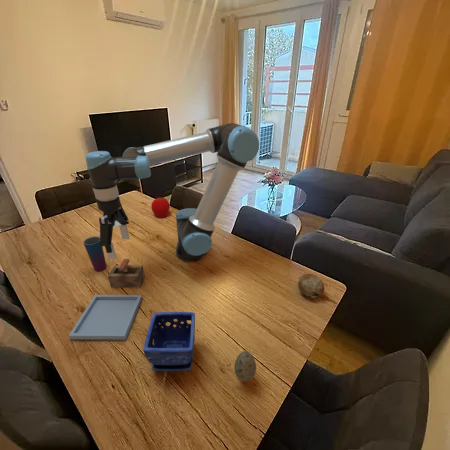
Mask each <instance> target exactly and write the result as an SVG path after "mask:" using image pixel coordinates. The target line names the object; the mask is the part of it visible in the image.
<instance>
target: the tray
mask: <svg viewBox="0 0 450 450" xmlns="http://www.w3.org/2000/svg"><path fill="white" fill-rule="evenodd" d="M142 302H143V295H141V294H94V295H93V297H92V298H91V300H90V302H89V303H88V305H87V306H86V308H85V309H84V311H83V313H82V314H81V315H80V317H79V318H78V320H77V321H76V324H75V325H74V327H73V328H72V329H71V331H70V333H69V334H68V337H69V340H70V341H126V340H127V338H128V336H129V333H130V331H131V329H132V326H133V323H134V321H135V319H136V317H137V314H138V311H139V309H140V306H141V304H142Z"/></svg>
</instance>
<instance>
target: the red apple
mask: <svg viewBox="0 0 450 450" xmlns="http://www.w3.org/2000/svg"><path fill="white" fill-rule="evenodd" d="M170 208H171V207H170V202H169V201H168V199H167V198H166V197H157V198H155V199H154V200H153V201H152V202H151V211H152V212H153V214H154V216H155V217H158V218H166V217H167V216H168V215H169V211H170Z"/></svg>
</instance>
